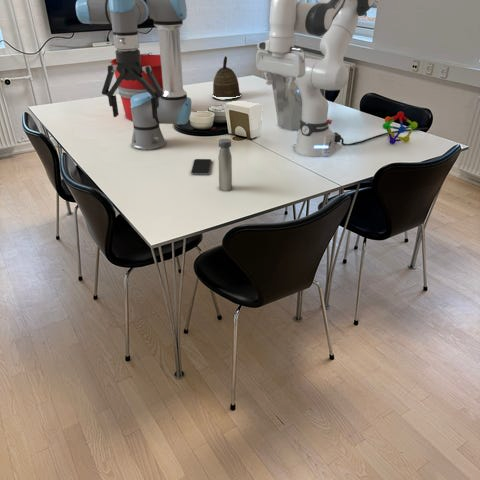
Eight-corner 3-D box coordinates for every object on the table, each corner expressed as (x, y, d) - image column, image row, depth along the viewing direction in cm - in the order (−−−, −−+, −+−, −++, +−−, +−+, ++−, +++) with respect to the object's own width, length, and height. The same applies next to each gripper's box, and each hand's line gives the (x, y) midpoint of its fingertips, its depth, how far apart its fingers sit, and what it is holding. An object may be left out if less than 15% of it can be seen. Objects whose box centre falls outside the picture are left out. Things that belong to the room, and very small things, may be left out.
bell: (227, 105, 294) (202, 96, 282) (238, 66, 289) (213, 55, 277) (243, 108, 280) (217, 98, 268) (255, 66, 275) (229, 55, 263)
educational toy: (377, 146, 209) (379, 114, 202) (384, 138, 219) (386, 107, 211) (411, 149, 202) (415, 116, 195) (417, 141, 212) (420, 109, 204)
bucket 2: (296, 138, 215) (301, 78, 201) (255, 124, 234) (256, 68, 219) (335, 125, 232) (342, 70, 217) (294, 113, 251) (297, 61, 236)
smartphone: (190, 173, 177) (194, 158, 190) (190, 174, 178) (194, 160, 190) (208, 173, 177) (211, 159, 190) (209, 174, 178) (211, 160, 190)
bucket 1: (124, 106, 262) (117, 51, 246) (183, 106, 262) (180, 52, 246) (108, 124, 233) (99, 63, 217) (174, 124, 232) (170, 64, 216)
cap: (218, 144, 160) (218, 138, 159) (230, 144, 161) (230, 138, 159) (219, 148, 157) (219, 142, 155) (231, 148, 157) (231, 142, 156)
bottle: (218, 185, 169) (217, 139, 159) (231, 185, 170) (231, 139, 160) (219, 191, 165) (218, 143, 155) (232, 190, 166) (232, 143, 156)
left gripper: (84, 50, 136) (95, 118, 148) (163, 52, 134) (168, 121, 145) (93, 46, 143) (104, 112, 154) (169, 48, 140) (174, 114, 152)
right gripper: (311, 47, 149) (307, 90, 157) (265, 41, 161) (263, 80, 169) (299, 49, 145) (296, 93, 153) (253, 43, 157) (252, 83, 165)
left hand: (135, 116), depth 150 cm, fingers open, 13 cm apart
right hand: (279, 86), depth 161 cm, fingers open, 8 cm apart
